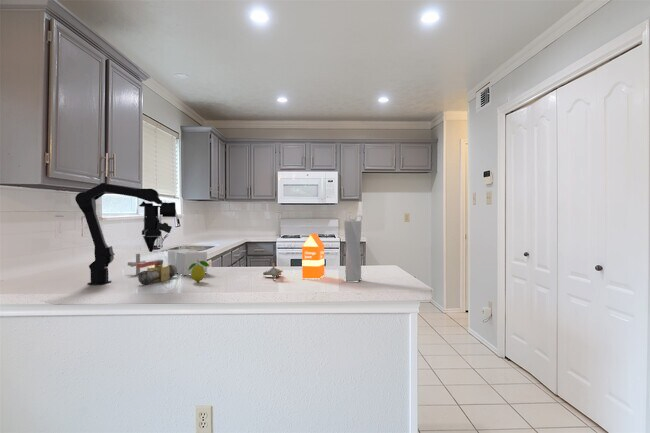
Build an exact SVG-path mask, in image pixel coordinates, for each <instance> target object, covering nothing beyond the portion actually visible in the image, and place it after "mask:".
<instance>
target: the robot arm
mask: <svg viewBox="0 0 650 433" xmlns="http://www.w3.org/2000/svg"><path fill="white" fill-rule="evenodd" d="M107 193H108V194H115V195H121V196H127V197H133V198H137V199H141V200H143V201H142V202H141V203H140V204H139V205H138V206H139V207H140V208H143V209H144V210H143V217H144V218H143V228H142V230H141V236H142V237H143V240H144V243H145V244H146V247H147V249H148V252H150V253H153V251H154V247H155V241H156V240H157V239H158V238H160V237H162V231H163V232H165V233H167V234H170V233H171V231H172V228H173V226H171V225H169V223H167V222H163V223H162V222H160V219H159V215H161V216H162V218H176V216H177V208H176V202H175V201H172V202H163V200H161V198H160V194H159V192H158V191H157V190H156V189H154V188H135V187H134V188H133V187H128V186H123V185H122V186H121V185H116V184H110V183H107V182H101V183H99V184H98V185H95V186H94V187H91V188H90V189H88V190H86V191H80V192H78V193H77V194H76V196H75V202H76V204H77V205H78V207H79V209H80V211H81V212H82V213H83V215H84V217H85V220H86V223H87V224H86V225H87V228H88V229H89V232H90V235H91V236H90V237H91V239H92V241H93V246H94V252H93V253H94V254H93V255H94V261H93V262H91V263H90V264H89V265H88V268H89V270H90V271H89V272H90V282H87V284H86V285H104V284H107V283H108V284H109V283H112V280H109V265H110V264H111V263H113V261H114V258H115V257H114V256H115V253H114V250H113V246H111V245H110V246H108V244H107V242H106V239H105V237H104V234H103V231H102V227H101V223H100V221H99V218H98V215H97V202H96V200H98V199H99V198H102V196H104V195H105V194H107ZM145 201H146V202H145ZM154 203H155V204H157V205H154Z"/></svg>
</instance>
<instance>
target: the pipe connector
mask: <svg viewBox="0 0 650 433" xmlns="http://www.w3.org/2000/svg"><path fill="white" fill-rule="evenodd" d="M145 262H147V261H145V260H141V253H135V261H131V262H130V261H128V262H127V266H130V267H131V268H133V267H135V274H136V275H139V274H140V272H141V268H137V264H139V263H145Z"/></svg>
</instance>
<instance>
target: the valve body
mask: <svg viewBox="0 0 650 433" xmlns="http://www.w3.org/2000/svg"><path fill="white" fill-rule="evenodd" d="M146 268H147V270H141V271H140V274H138V277H137V280H138V283H140V284H141V285H142V286H146V285H150V284H152V283H162V282H165V281H169V280H170V278H172V277H175V276H176V274H177V269H176V267H175V266H174V265H168V264H167V265H164V263H163V264H156V265H151V266H147V267H146Z"/></svg>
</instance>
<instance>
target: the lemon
mask: <svg viewBox="0 0 650 433" xmlns="http://www.w3.org/2000/svg"><path fill="white" fill-rule="evenodd" d="M199 262H200V264H201V265H203V266H207V267H209V266H210V265H209V263H208V261H207V262H205V261H199ZM196 264H197V263H193V264H192V265H191V266H190V267H189V270H190V269H191V268H193V269H192V271H191V276H190V277H191V278H192V280H193V281H195V282H196V283H200V281H202V280H203V279H204V278H205V276H206V274H205V271H204V268H203V267H202V266H201V265H199V264H197V265H196Z"/></svg>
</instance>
